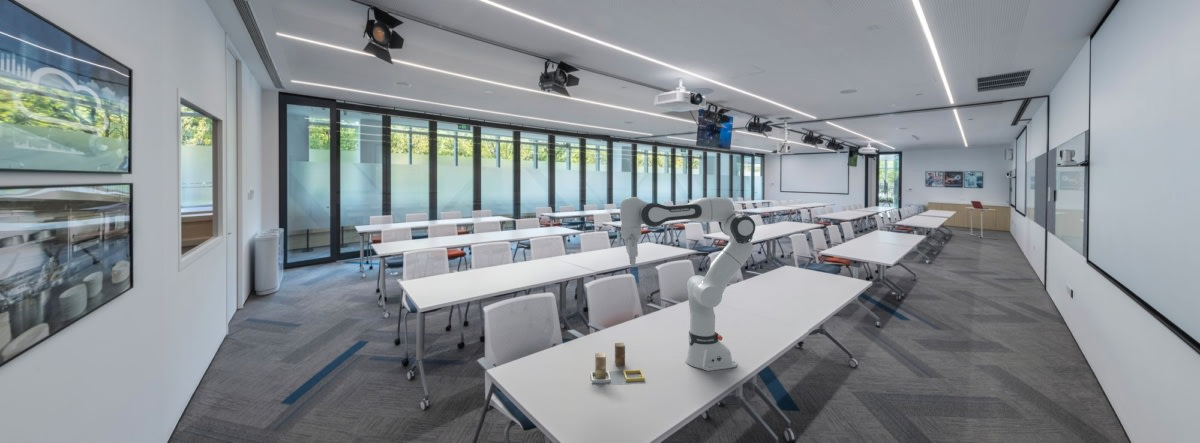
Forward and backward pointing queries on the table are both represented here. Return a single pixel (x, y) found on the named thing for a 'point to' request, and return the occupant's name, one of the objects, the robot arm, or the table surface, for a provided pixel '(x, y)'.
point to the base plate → (619, 378)
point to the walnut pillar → (619, 354)
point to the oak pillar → (600, 365)
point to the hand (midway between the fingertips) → (632, 265)
